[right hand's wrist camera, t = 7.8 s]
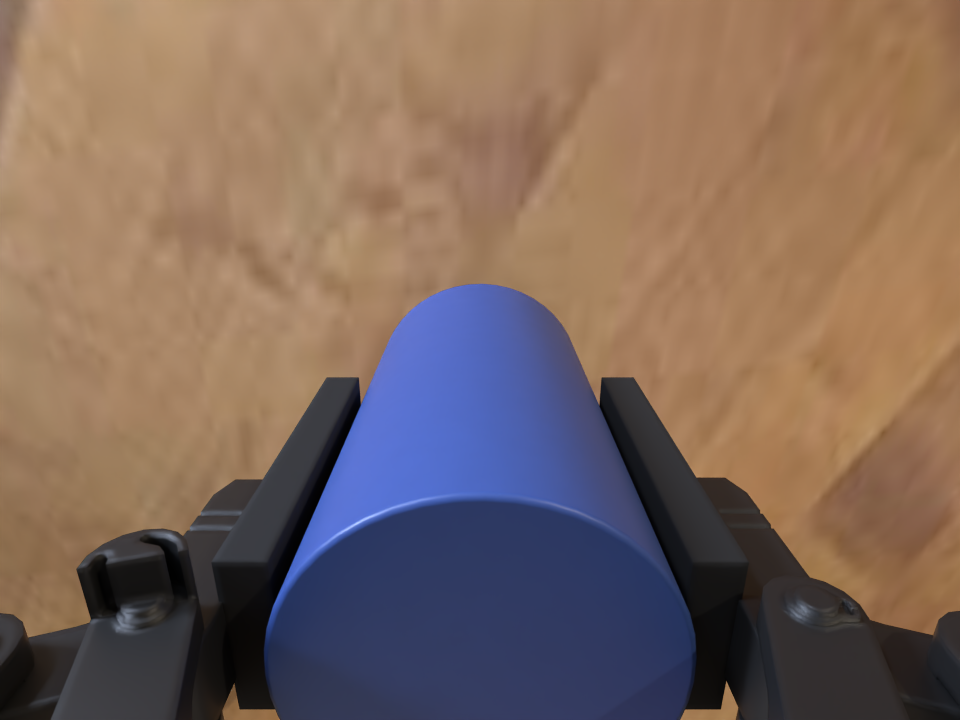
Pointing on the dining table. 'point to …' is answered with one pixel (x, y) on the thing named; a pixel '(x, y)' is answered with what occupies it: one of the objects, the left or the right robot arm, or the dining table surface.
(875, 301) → the dining table surface
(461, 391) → the canister
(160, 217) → the dining table surface
